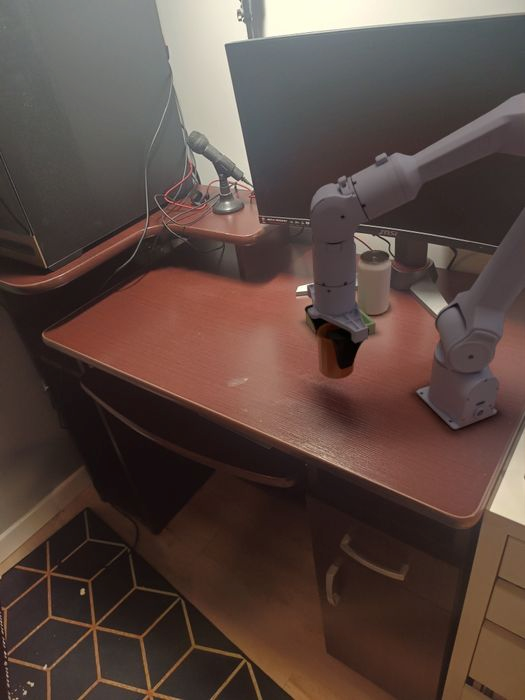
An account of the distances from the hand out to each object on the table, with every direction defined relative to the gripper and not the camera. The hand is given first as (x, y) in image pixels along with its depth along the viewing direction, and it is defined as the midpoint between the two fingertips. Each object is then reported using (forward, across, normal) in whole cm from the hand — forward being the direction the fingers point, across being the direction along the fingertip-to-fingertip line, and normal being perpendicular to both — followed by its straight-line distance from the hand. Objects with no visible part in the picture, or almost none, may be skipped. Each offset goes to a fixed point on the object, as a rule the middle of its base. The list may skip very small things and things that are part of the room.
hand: (336, 355), depth 71 cm
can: (+10, -21, +20) cm, 31 cm away
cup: (+2, 0, 0) cm, 2 cm away
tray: (+9, -18, +11) cm, 23 cm away
